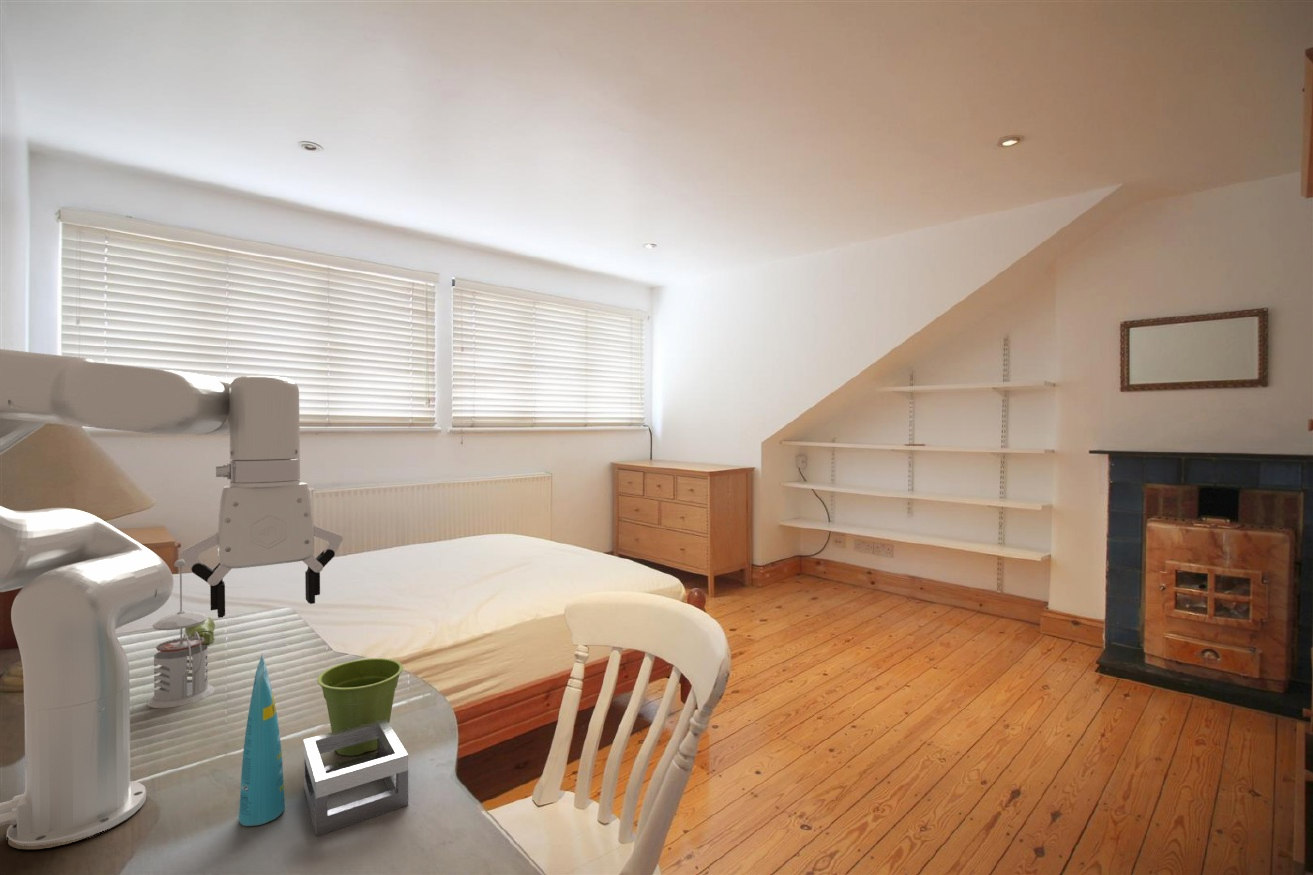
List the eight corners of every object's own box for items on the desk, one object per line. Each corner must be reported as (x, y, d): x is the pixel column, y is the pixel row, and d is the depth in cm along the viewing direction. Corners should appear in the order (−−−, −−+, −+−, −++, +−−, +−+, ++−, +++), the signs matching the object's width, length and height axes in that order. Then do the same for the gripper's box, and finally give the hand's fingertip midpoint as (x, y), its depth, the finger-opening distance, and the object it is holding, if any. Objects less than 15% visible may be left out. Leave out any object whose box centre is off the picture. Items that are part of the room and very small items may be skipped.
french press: (202, 681, 119) (201, 552, 119) (228, 695, 112) (227, 558, 112) (138, 699, 111) (137, 560, 111) (162, 715, 104) (161, 568, 104)
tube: (289, 821, 76) (288, 665, 75) (242, 838, 72) (241, 675, 72) (279, 794, 81) (278, 649, 81) (235, 808, 78) (234, 657, 78)
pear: (213, 610, 148) (218, 626, 140) (212, 631, 148) (217, 648, 141) (183, 614, 144) (187, 631, 137) (183, 636, 145) (187, 654, 137)
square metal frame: (316, 836, 73) (316, 781, 73) (303, 787, 83) (303, 739, 83) (408, 805, 79) (408, 754, 79) (386, 763, 89) (386, 718, 89)
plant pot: (308, 771, 87) (307, 691, 87) (328, 732, 98) (328, 661, 98) (398, 759, 90) (397, 682, 90) (408, 722, 101) (407, 654, 101)
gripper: (179, 478, 70) (181, 628, 70) (346, 472, 80) (348, 602, 80) (180, 475, 76) (182, 613, 76) (336, 469, 86) (337, 591, 86)
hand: (267, 608), depth 78 cm, fingers open, 9 cm apart
